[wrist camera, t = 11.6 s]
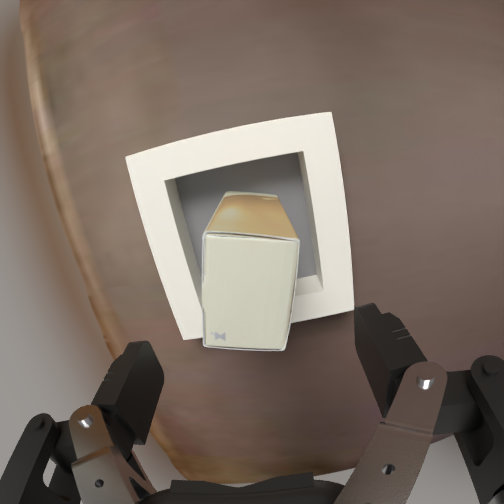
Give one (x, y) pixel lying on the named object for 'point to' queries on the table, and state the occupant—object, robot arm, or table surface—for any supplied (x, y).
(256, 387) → the table surface
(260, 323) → the skincare box
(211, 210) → the holder
